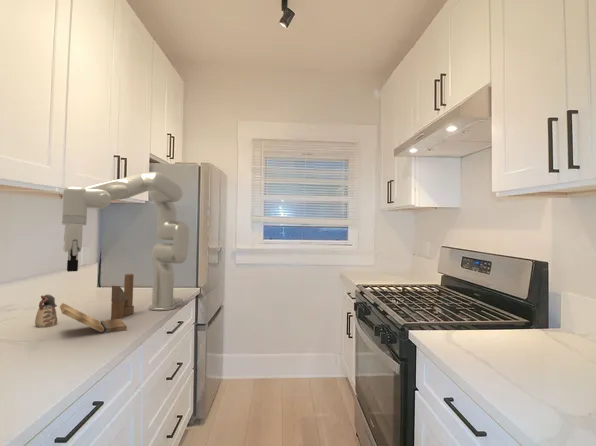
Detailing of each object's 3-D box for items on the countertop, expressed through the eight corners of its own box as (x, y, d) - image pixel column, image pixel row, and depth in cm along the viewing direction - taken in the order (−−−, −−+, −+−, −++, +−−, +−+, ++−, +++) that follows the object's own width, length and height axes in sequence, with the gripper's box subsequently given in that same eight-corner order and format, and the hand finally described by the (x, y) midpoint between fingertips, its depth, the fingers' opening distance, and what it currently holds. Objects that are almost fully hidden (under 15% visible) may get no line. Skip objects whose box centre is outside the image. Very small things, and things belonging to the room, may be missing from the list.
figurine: (61, 323, 138) (62, 293, 138) (43, 328, 131) (44, 296, 131) (49, 321, 140) (50, 292, 141) (30, 326, 134) (31, 295, 134)
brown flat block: (119, 322, 142) (119, 318, 142) (126, 330, 132) (126, 325, 132) (100, 325, 138) (100, 320, 138) (105, 333, 128) (105, 328, 128)
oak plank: (96, 324, 137) (99, 321, 137) (101, 332, 127) (104, 328, 128) (59, 306, 129) (62, 302, 130) (62, 313, 120) (65, 309, 120)
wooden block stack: (110, 319, 147) (112, 276, 147) (126, 313, 157) (128, 273, 157) (118, 319, 146) (120, 277, 146) (134, 313, 157) (135, 273, 157)
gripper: (60, 220, 130) (58, 269, 130) (63, 220, 119) (61, 274, 118) (83, 221, 135) (81, 268, 135) (89, 221, 123) (86, 273, 123)
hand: (72, 271), depth 127 cm, fingers closed
